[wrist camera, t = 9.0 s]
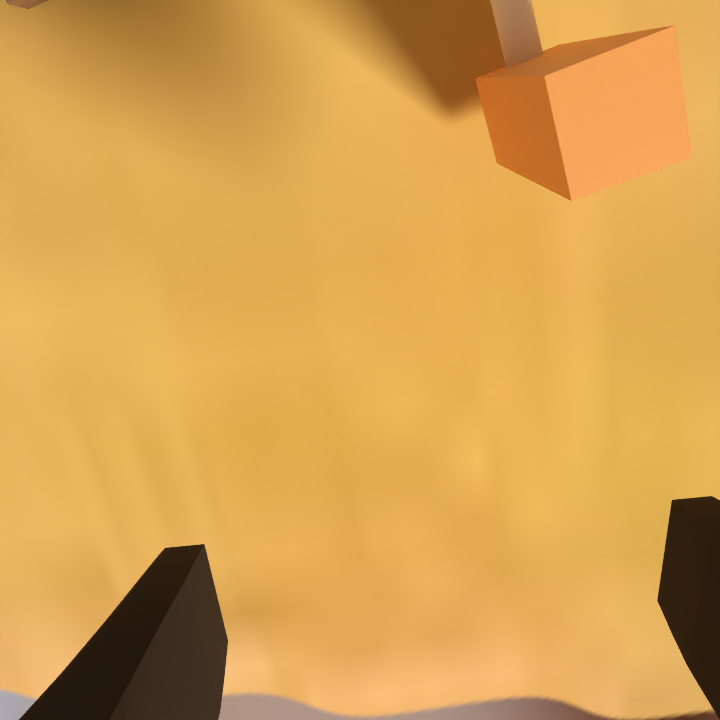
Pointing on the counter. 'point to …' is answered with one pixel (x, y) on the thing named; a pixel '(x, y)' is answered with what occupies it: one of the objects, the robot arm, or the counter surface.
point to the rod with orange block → (583, 105)
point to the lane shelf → (25, 3)
